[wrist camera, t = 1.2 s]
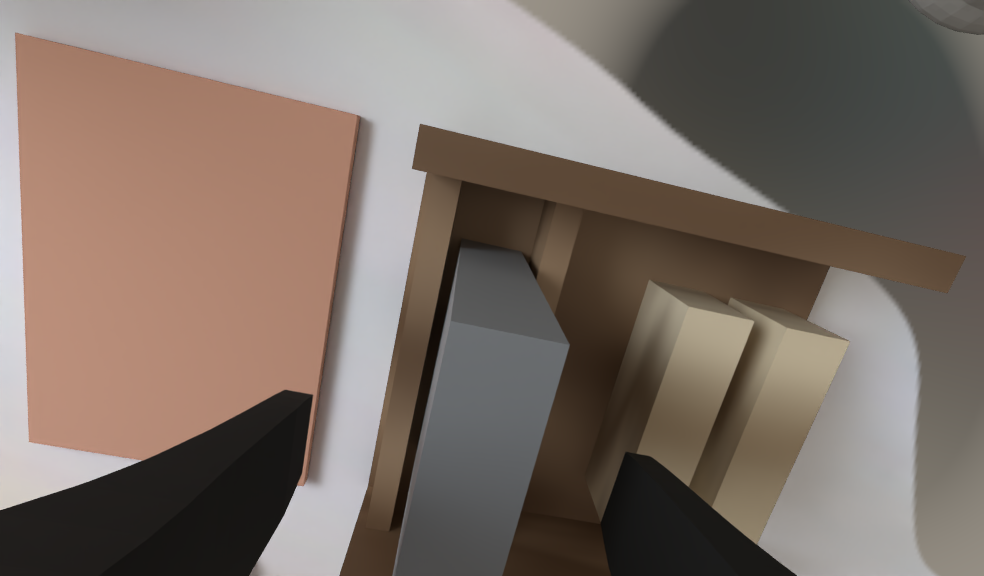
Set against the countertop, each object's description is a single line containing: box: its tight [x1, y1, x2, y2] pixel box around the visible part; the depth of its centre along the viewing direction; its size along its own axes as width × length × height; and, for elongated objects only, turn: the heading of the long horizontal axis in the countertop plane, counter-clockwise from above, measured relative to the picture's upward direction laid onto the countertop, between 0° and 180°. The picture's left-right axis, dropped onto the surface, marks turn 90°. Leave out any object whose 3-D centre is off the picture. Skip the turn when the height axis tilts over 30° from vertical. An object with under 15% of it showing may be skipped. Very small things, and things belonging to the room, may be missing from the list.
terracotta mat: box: [15, 33, 360, 486], centre depth 16 cm, size 14×10×1 cm
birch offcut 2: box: [689, 298, 850, 544], centre depth 16 cm, size 8×2×3 cm, turn 167°
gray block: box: [392, 238, 570, 576], centre depth 12 cm, size 8×2×8 cm, turn 167°
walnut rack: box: [339, 124, 966, 576], centre depth 15 cm, size 14×14×5 cm
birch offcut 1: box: [585, 280, 754, 522], centre depth 15 cm, size 8×2×3 cm, turn 167°
